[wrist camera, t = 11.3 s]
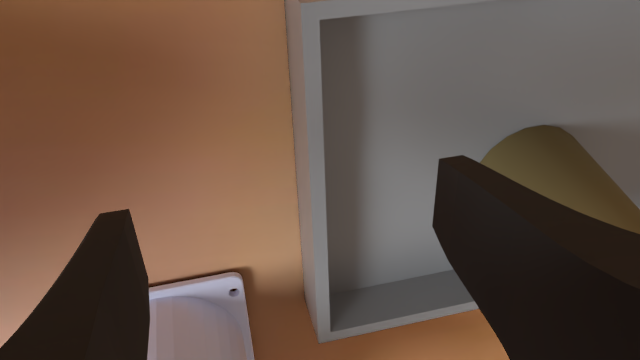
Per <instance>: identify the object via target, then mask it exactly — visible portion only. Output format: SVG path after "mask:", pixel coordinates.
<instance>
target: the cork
mask: <svg viewBox="0 0 640 360" xmlns="http://www.w3.org/2000/svg"><path fill="white" fill-rule="evenodd" d="M480 163H481V164H483V165H485V166H487V167H489V168H491V169H492V170H494V171H496V172H498V173H500V174H502V175H504V176H506V177H508V178H510V179H511V180H513V181H515V182H517V183H519V184H521V185H523V186H525V187H527V188H529V189H531V190H533V191H535V192H537V193H539V194H541V195H543V196H545V197H547V198H549V199H551V200H553V201H556V202H558V203H560V204H562V205H564V206H567V207H569V208H571V209H573V210H576V211H578V212H580V213H583V214H585V215H588V216H590V217H592V218H595V219H598V220H601V221H603V222H606V223H609V224H611V225H614V226H617V227H620V228H622V229H625V230H628V231H632V232H635V233H638V234H640V209H639V208H638V207H637V206H636V205H635V204H634V203H633V202H632V201H631V199H630V198H629V197H628V196H627V195H626V194H625V193H624V192H623V191H622V190H621V188H620V187H619V186H618V185H617V184H616V183H615V182H614V181H613V180H612V179H611V177H610V176H609V175H608V174H607V173H606V172H605V171H604V170H603V169H602V168H601V166H600V165H599V164H598V163H597V162H596V161H595V160H594V159H593V158H592V157H591V155H590V154H589V153H588V152H587V151H586V150H585V149H584V148H583V147H582V146H581V144H580V143H579V142H578V141H577V140H576V139H575V138H574V137H573V136H572V135H571V134H569V133H568V132H566V131H565V130H563V129H562V128H560V127H554V126H547V125H541V126H535V127H529V128H525V129H523V130H520V131H518V132H516V133H514V134H512V135H510V136H507V137H506V138H505V139H503V140H502V141H501V142H500V143H498V144H497V145H496V146H494V147H493V148H492V149H491V150H490V151H489V152H488V153H487V154H486V156H485V157H484V158H483V159H482V161H481V162H480Z"/></svg>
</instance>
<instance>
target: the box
mask: <svg viewBox="0 0 640 360" xmlns="http://www.w3.org/2000/svg"><path fill="white" fill-rule="evenodd" d="M284 4H285V19H286V33H287V48H288V62H289V77H290V91H291V106H292V121H293V135H294V150H295V164H296V179H297V193H298V208H299V222H300V237H301V252H302V266H303V281H304V295H305V302H306V305H307V308H308V311H309V315H310V318H311V321H312V324H313V327H314V331H315V334H316V337H317V340H318V343H319V344H320V343H325V342H329V341H334V340H338V339H343V338H347V337H352V336H357V335H361V334H366V333H370V332H375V331H379V330H384V329H389V328H393V327H398V326H402V325H407V324H411V323H416V322H421V321H425V320H430V319H434V318H439V317H443V316H448V315H452V314H457V313H462V312H466V311H471V310H475V309H479V307H478V306H477V304H476V303H475V301H474V300H473V298H472V297H471V295H470V294H469V292H468V291H467V289H466V288H465V286H464V285H463V283H462V281H461V280H460V278H459V277H458V275H457V274H456V272H455V271H454V269H453V267H452V266H451V264H450V263H449V261H448V259H447V257H446V255H445V253H444V251H443V249H442V247H441V245H440V243H439V240H438V238H437V236H436V234H435V231H434V229H433V227H432V223H433V213H434V203H435V193H436V183H437V173H438V163H439V159H441V158H447V157H453V156H459V155H464V156H466V157H468V158H471V159H473V160H475V161H477V162H479V163H480V162H481V161H482V159H483V158H484V157H485V156H486V154H487V153H488V152H489V151H490V150H491V149H492V148H493V147H494V146H496V145H497V144H498V143H500V142H501V141H502V140H503V139H505V138H506V137H507V136H510V135H512V134H514V133H516V132H518V131H520V130H523V129H525V128H529V127H535V126H541V125H547V126H554V127H560V128H562V129H563V130H565V131H566V132H568V133H569V134H571V135H572V136H573V137H574V138H575V139H576V140H577V141H578V142H579V143H580V144H581V146H582V147H583V148H584V149H585V150H586V151H587V152H588V153H589V154H590V155H591V157H592V158H593V159H594V160H595V161H596V162H597V163H598V164H599V165H600V166H601V168H602V169H603V170H604V171H605V172H606V173H607V174H608V175H609V176H610V177H611V179H612V180H613V181H614V182H615V183H616V184H617V185H618V186H619V187H620V188H621V190H622V191H623V192H624V193H625V194H626V195H627V196H628V197H629V198H630V199H631V201H632V202H633V203H634V204H635V205H636V206H637V207H638V208H639V209H640V0H284Z"/></svg>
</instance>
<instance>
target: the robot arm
mask: <svg viewBox="0 0 640 360" xmlns="http://www.w3.org/2000/svg"><path fill="white" fill-rule="evenodd" d="M432 227H433V229H434V231H435V234H436V236H437V238H438V240H439V243H440V245H441V247H442V249H443V251H444V253H445V255H446V257H447V259H448V261H449V263H450V264H451V266H452V267H453V269H454V271H455V272H456V274H457V275H458V277H459V278H460V280H461V281H462V283H463V285H464V286H465V288H466V289H467V291H468V292H469V294H470V295H471V297H472V298H473V300H474V301H475V303H476V304H477V306H478V307H479V309H480V310H481V312H482V313H483V315H484V316H485V318H486V319H487V321H488V323H489V324H490V326H491V327H492V329H493V330H494V332H495V333H496V335H497V337H498V338H499V340H500V342H501V343H502V345H503V347H504V349H505V351H506V353H507V355H508V357H509V359H510V360H640V234H638V233H635V232H632V231H628V230H625V229H622V228H620V227H617V226H614V225H611V224H609V223H606V222H603V221H601V220H598V219H595V218H592V217H590V216H588V215H585V214H583V213H580V212H578V211H576V210H573V209H571V208H569V207H567V206H564V205H562V204H560V203H558V202H556V201H553V200H551V199H549V198H547V197H545V196H543V195H541V194H539V193H537V192H535V191H533V190H531V189H529V188H527V187H525V186H523V185H521V184H519V183H517V182H515V181H513V180H511V179H510V178H508V177H506V176H504V175H502V174H500V173H498V172H496V171H494V170H492V169H491V168H489V167H487V166H485V165H483V164H481V163H479V162H477V161H475V160H473V159H471V158H468V157H466V156H464V155H459V156H453V157H447V158H441V159H439V163H438V173H437V183H436V193H435V203H434V213H433V223H432ZM231 289H237V290H235V291H230V290H231ZM0 360H255V359H254V353H253V346H252V339H251V332H250V326H249V319H248V312H247V305H246V299H245V292H244V285H243V279H242V276H241V275H240V274H239V273H236V272H229V273H224V274H219V275H213V276H208V277H203V278H197V279H192V280H187V281H182V282H176V283H171V284H166V285H161V286H155V287H150V288H149V285H148V276H147V273H146V269H145V265H144V262H143V258H142V254H141V251H140V247H139V243H138V240H137V236H136V233H135V229H134V225H133V222H132V218H131V214H130V211H129V209H126V210H120V211H113V212H107V213H101V214H99V216H98V217H97V218H96V219H95V221H94V223H93V224H92V226H91V228H90V229H89V231H88V233H87V234H86V236H85V238H84V239H83V241H82V242H81V244H80V246H79V247H78V249H77V250H76V252H75V253H74V255H73V257H72V258H71V260H70V261H69V262H68V264H67V265H66V267H65V268H64V270H63V271H62V273H61V274H60V276H59V277H58V279H57V280H56V282H55V283H54V284H53V286H52V287H51V288H50V290H49V291H48V292H47V294H46V295H45V296H44V297H43V299H42V300H41V301H40V303H39V304H38V305H37V307H36V308H35V309H34V310H33V312H32V313H31V314H30V315H29V317H28V318H27V319H26V320H25V321H24V323H23V324H22V325H21V326H20V327H19V328H18V330H17V331H16V332H15V333H14V334H13V335H12V336H11V337H10V338H9V339H8V341H7V342H6V343H5V344H4V345H3V346H2V347H1V348H0Z"/></svg>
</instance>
